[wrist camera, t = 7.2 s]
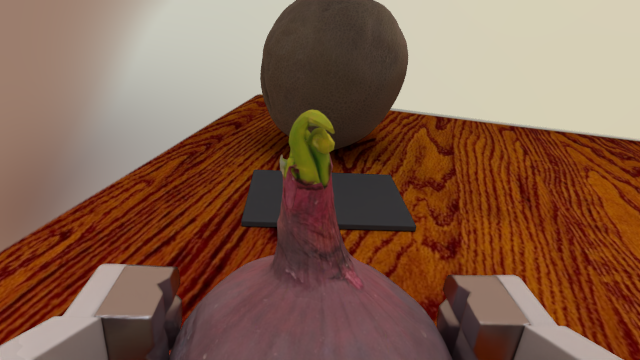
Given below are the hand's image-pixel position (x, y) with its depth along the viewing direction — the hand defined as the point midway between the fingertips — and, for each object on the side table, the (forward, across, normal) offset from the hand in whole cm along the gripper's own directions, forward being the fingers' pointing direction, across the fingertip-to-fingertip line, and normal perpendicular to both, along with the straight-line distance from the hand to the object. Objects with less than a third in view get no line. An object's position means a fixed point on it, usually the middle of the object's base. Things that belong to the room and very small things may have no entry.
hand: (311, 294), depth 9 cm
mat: (+22, -2, +9) cm, 24 cm away
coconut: (+35, -3, +9) cm, 36 cm away
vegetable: (-1, 0, +6) cm, 6 cm away
